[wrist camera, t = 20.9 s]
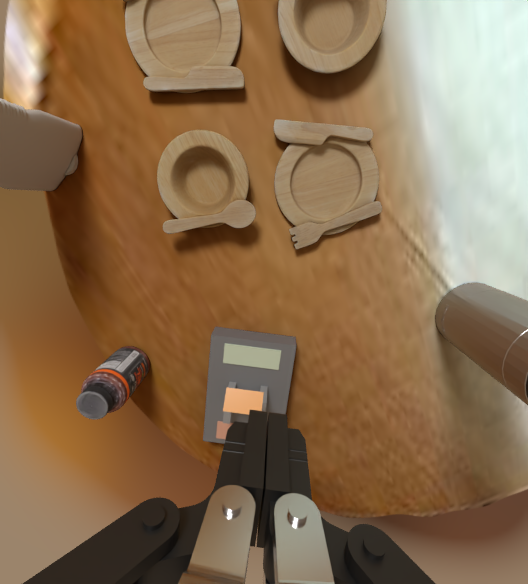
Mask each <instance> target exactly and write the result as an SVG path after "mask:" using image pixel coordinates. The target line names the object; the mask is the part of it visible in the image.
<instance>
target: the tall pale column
mask: <svg viewBox="0 0 528 584" xmlns="http://www.w3.org/2000/svg"><path fill="white" fill-rule="evenodd" d="M82 138H83V131H82V128H81V127H80V125H77V124H74V123H71V122H69V121H66V120H64V119H61V118H59V117H56V116H53V115H51V114H48V113H46V112H43V111H41V110H27V109H24V108H23V107H22V106H19V105H16V104H12V103H10V102H8V101H6V100H3V99H1V98H0V187H2V188H5V189H17V190H38V191H53V190H55V189H57V187H58V186H59V185H60V183H61V182H62V181H63V179H64V178H65V177H66V175H70V174H72V173H74V171H75V170H76V169H77V166H78V157H77V153H78V150H79V147H80V144H81V141H82Z"/></svg>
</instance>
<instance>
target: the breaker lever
mask: <svg viewBox="0 0 528 584" xmlns="http://www.w3.org/2000/svg"><path fill="white" fill-rule="evenodd" d="M263 395H264V392H258V391H251V390H243V389H235V388H228V387H227V388H226V394H225V401H224V407H223V411H225V412H233V413H240V414H248V415H249V412H250V410H258V411H262V403H263Z"/></svg>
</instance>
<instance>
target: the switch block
mask: <svg viewBox="0 0 528 584" xmlns="http://www.w3.org/2000/svg"><path fill="white" fill-rule="evenodd" d="M295 352H296V338H295V337H292V336H284V335H276V334H268V333H260V332H252V331H245V330H237V329H229V328H221V327H215V329H214V331H213V333H212V335H211V346H210V359H209V371H208V384H207V397H206V410H205V423H204V436H203V441H208V442H216V443H223V444H224V443H225V439H226V434H227V430H228V429H229V427H230V426H231V425H232V424H233V423H234V422H235V421H237V422H245V423H248V419H249V415H248V414H240V413H233V412H225V411H223V407H224V401H225V394H226V388H227V387H228V388H235V389H243V390H251V391H258V392H264V395H263V403H262V411H265V412H267V420H268V414H269V412H272V413H280V414H286V408H287V402H288V395H289V389H290V383H291V377H292V371H293V364H294V358H295Z"/></svg>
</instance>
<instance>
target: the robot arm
mask: <svg viewBox="0 0 528 584" xmlns="http://www.w3.org/2000/svg"><path fill="white" fill-rule="evenodd" d="M436 324H437V328H438V330H439V331H440V333H441V334H442V335H443V336H444V337H445V338H446V339H447V340H448V341H450V342H451V343H452V344H453V345H454V346H456V347H457V348H458V349H459V350H460V351H462V352H463V353H464V354H465V355H467V356H468V357H469V358H470V359H471V360H473V361H474V362H475V363H476V364H478V365H479V366H480V367H481V368H483V369H484V370H485V371H486V372H487V373H489V374H490V375H491V376H492V377H494V378H495V379H496V380H497V381H498V382H500V383H501V384H502V385H503V386H505V387H506V388H507V389H508V390H510V391H511V392H512V393H513V394H514V395H516V396H517V397H518V398H520V399H521V400H522V401H523V402H524V403H526V404H527V405H528V301H527V300H524V299H522V298H519V297H517V296H514V295H512V294H509V293H507V292H504V291H501V290H499V289H496V288H493V287H491V286H488V285H486V284H482V283H467V284H463V285H460V286H458V287H456V288H454V289H453V290H451V291H450V292H448V293H447V294H446V295H445V296H444V298H443V299H442V300H441V302H440V303H439V306H438V308H437V312H436ZM257 528H258V536H257V547H261V548H264V559H263V569H264V575H263V584H435V583H434V582H433V581H432V580H431V579H430V578H429V577H428V576H427V575H426V574H425V573H424V572H423V571H422V570H421V569H420V568H419V567H418V566H417V565H416V564H415V563H414V562H413V561H412V560H411V559H410V558H409V556H408V555H407V554H405V552H404V551H402V549H401V548H399V547H398V545H397V544H396V543H394V541H392V539H391V538H390V537H389V536H388V535H386V534H385V533H384V532H383V531H381V530H380V529H378V528H376V527H374V526H372V525H367V524H360V525H357V526H355V527H353V528H352V529H351V530H350V532H346V531H344V530H342V529H340V528H338V527H336V526H334V525H332V524H330V523H328V522H327V521H325V520H324V519H323V518H322V517H321V516H320V512H319V510H318V508H317V506H316V505H315V504H314V503H313V501H312V497H311V488H310V479H309V470H308V463H307V453H306V442H305V439H304V437H303V436H302V434H301V432H300V431H299V430H297V429H290V428H287V414H280V413H272V412H269V414H268V420H267V412H265V411H258V410H250V412H249V419H248V423H245V422H237V421H235V422H234V423H233V424H232V425H231V426H230V427H229V429H228V430H227V434H226V439H225V443H224V448H223V452H222V456H221V461H220V465H219V470H218V474H217V479H216V483H215V487H214V489H213V491H212V493H211V494H210V495H209V496H208V497H207V498H206V500H204V501H202V502H201V503H199V504H196V505H193V506H189V507H183V508H177V506H176V505H175V504H174V503H173V502H172V501H170V500H168V499H166V498H153V499H149V500H146V501H144V502H142V503H141V504H139V505H138V506H136V507H135V508H134V509H132V510H131V511H129V512H128V513H126V514H125V515H123V516H122V517H120V518H119V519H117V520H116V521H115V522H113V523H111V524H110V525H108V526H107V527H105V528H104V529H102V530H101V531H100V532H98V533H97V534H95V535H94V536H92V537H91V538H89V539H88V540H86V541H85V542H83V543H82V544H80V545H79V546H77V547H76V548H75V549H73V550H72V551H70V552H69V553H67V554H66V555H64V556H63V557H61V558H60V559H58V560H57V561H55V562H54V563H52V564H51V565H49V566H48V567H47V568H45V569H44V570H42V571H41V572H40V573H38V574H36V575H35V576H33V577H32V578H30V579H29V580H27V581H26V582H24V583H23V584H245V578H246V571H247V563H248V557H249V550H250V546H255V541H256V534H257Z"/></svg>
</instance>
